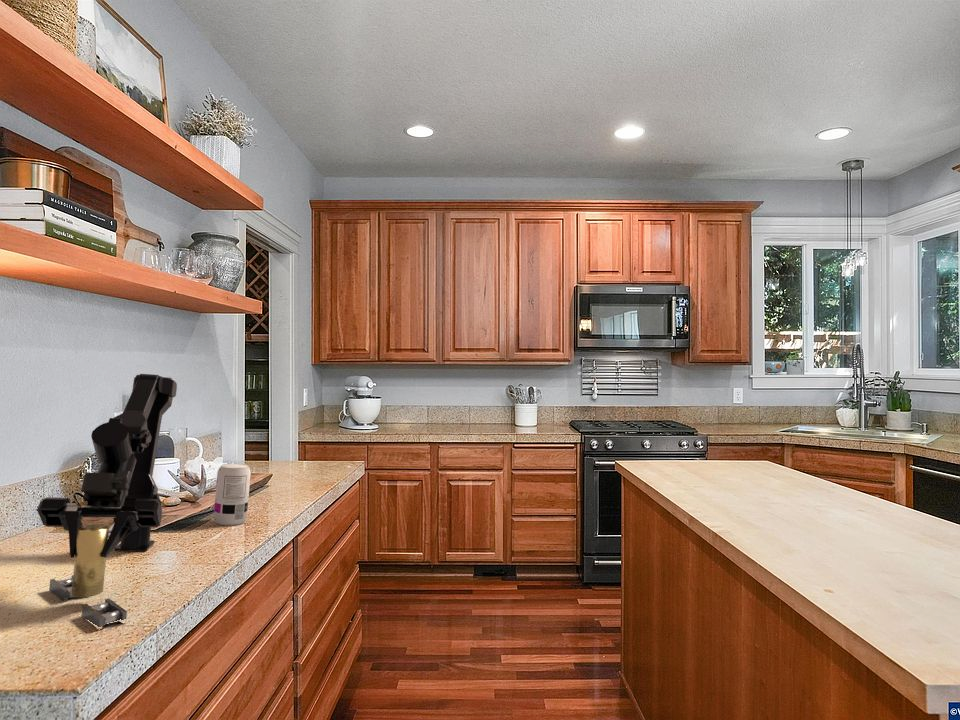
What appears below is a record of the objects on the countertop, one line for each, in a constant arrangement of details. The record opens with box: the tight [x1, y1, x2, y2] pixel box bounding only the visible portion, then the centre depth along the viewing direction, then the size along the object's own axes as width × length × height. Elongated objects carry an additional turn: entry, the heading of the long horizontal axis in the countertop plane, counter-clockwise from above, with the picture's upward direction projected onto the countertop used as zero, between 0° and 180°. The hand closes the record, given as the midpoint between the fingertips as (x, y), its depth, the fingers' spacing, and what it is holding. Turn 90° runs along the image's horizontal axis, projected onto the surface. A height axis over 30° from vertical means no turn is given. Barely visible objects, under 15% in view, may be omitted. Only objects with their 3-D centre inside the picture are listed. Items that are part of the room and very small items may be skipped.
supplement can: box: [213, 462, 252, 526], centre depth 162 cm, size 8×8×15 cm
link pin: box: [72, 524, 110, 598], centre depth 105 cm, size 5×5×11 cm
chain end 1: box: [48, 574, 75, 603], centre depth 109 cm, size 7×4×2 cm, turn 52°
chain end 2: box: [81, 598, 128, 627], centre depth 100 cm, size 7×4×2 cm, turn 52°
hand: (88, 556), depth 104 cm, fingers closed on link pin, 5 cm apart
